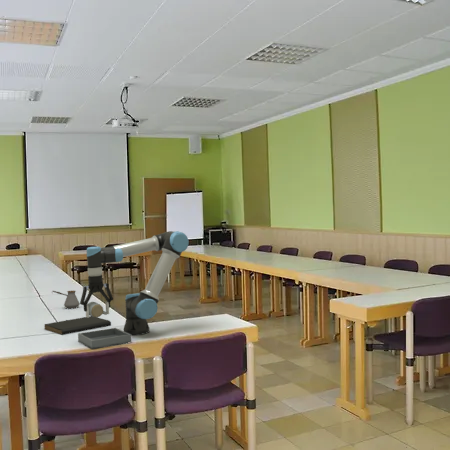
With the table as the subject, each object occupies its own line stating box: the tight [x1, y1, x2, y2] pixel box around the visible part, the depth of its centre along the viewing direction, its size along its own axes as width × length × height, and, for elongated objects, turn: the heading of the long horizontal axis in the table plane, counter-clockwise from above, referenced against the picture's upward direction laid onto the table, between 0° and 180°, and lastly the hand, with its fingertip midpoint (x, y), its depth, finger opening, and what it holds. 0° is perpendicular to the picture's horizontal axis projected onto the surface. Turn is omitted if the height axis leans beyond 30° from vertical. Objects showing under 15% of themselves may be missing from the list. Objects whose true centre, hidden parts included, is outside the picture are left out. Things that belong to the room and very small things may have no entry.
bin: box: [77, 327, 132, 350], centre depth 285 cm, size 22×22×4 cm
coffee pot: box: [51, 290, 81, 310], centre depth 395 cm, size 21×12×15 cm, turn 132°
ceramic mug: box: [87, 301, 108, 318], centre depth 283 cm, size 11×8×8 cm
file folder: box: [43, 315, 112, 336], centre depth 326 cm, size 33×4×24 cm
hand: (97, 315), depth 283 cm, fingers closed on ceramic mug, 11 cm apart
